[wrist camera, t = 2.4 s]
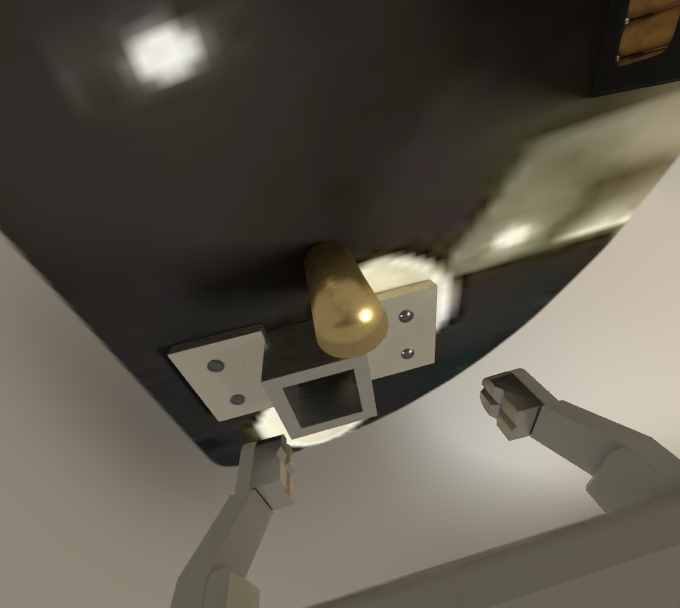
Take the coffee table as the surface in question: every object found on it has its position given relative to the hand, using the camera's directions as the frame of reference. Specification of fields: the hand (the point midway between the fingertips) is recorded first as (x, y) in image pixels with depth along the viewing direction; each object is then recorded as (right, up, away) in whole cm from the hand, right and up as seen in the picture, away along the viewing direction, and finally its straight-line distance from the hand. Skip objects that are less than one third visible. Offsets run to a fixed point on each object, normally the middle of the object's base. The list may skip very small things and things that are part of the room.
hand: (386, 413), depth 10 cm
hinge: (-4, 0, +16) cm, 16 cm away
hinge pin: (-3, +8, +11) cm, 14 cm away
